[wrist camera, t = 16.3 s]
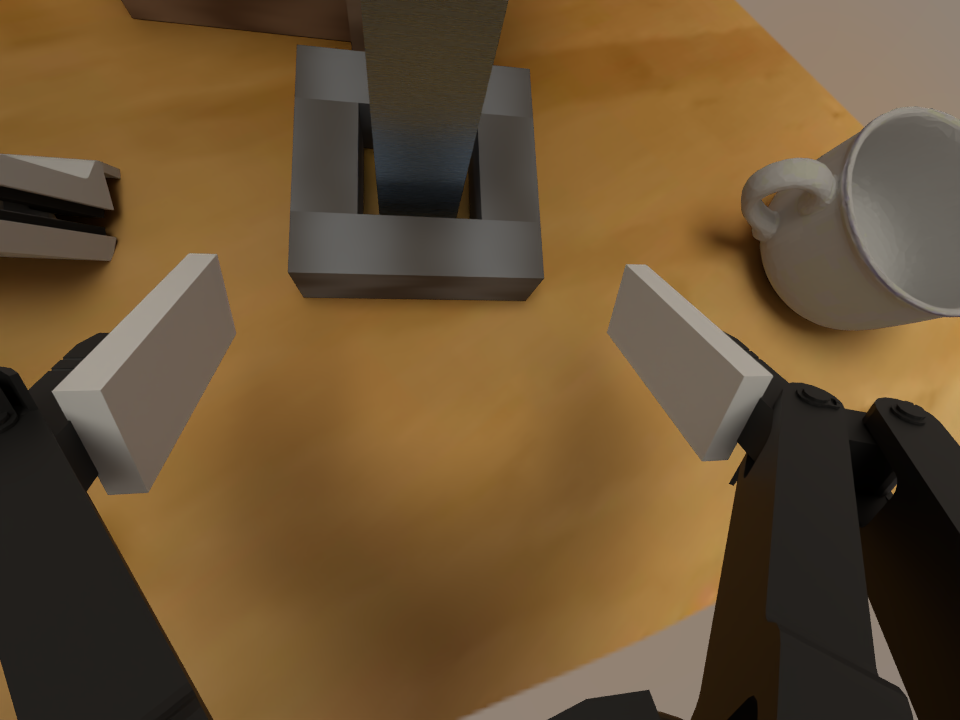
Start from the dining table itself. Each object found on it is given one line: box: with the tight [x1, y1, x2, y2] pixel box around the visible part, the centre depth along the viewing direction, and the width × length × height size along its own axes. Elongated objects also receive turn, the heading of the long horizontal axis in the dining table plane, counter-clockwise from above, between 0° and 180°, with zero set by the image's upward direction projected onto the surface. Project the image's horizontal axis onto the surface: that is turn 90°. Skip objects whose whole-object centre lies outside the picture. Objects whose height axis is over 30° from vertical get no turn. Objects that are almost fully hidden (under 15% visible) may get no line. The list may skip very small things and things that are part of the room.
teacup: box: [741, 107, 960, 330], centre depth 26 cm, size 14×11×8 cm
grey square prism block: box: [360, 0, 508, 218], centre depth 19 cm, size 4×4×14 cm
